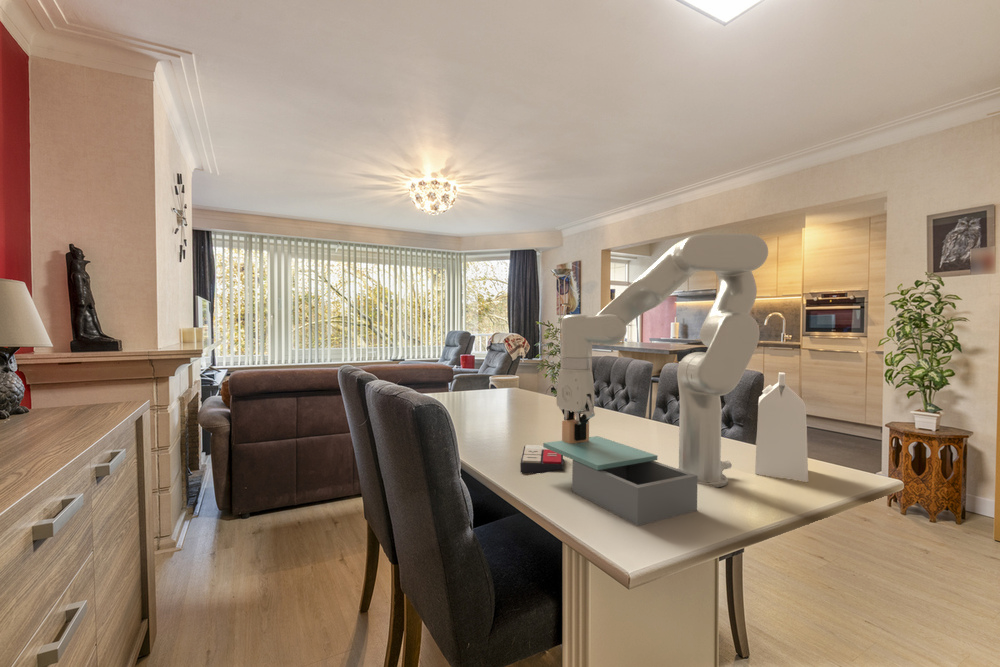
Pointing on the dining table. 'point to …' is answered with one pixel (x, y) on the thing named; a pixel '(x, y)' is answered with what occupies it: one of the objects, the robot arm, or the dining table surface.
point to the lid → (596, 449)
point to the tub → (638, 490)
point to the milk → (781, 433)
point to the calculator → (540, 460)
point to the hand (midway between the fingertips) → (575, 437)
